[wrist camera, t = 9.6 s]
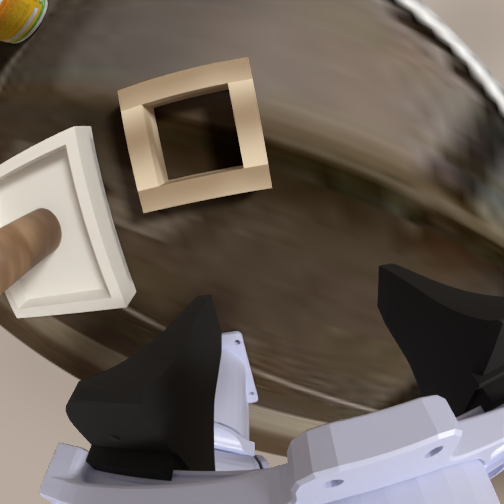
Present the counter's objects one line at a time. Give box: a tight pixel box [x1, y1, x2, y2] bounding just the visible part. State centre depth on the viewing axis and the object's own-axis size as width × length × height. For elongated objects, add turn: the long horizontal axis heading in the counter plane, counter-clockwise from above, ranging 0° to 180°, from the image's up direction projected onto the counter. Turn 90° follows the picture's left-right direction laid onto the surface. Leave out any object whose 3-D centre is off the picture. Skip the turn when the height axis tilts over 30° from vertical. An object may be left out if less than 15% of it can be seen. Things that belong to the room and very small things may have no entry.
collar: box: [118, 57, 272, 213], centre depth 18 cm, size 8×8×2 cm
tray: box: [0, 126, 136, 318], centre depth 20 cm, size 14×14×2 cm
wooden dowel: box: [0, 208, 62, 295], centre depth 17 cm, size 4×4×9 cm
